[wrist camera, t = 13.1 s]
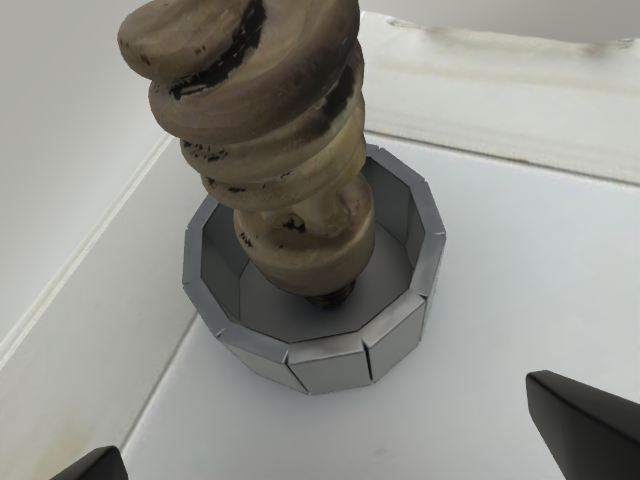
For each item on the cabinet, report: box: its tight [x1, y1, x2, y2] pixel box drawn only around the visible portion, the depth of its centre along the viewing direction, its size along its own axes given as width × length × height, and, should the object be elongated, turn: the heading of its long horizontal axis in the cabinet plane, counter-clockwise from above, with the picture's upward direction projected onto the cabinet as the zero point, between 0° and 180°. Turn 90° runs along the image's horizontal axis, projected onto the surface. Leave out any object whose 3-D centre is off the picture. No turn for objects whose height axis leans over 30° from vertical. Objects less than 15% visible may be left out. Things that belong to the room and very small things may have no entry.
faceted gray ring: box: [182, 144, 446, 395], centre depth 19 cm, size 11×11×5 cm
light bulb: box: [117, 0, 375, 307], centre depth 14 cm, size 6×6×15 cm
